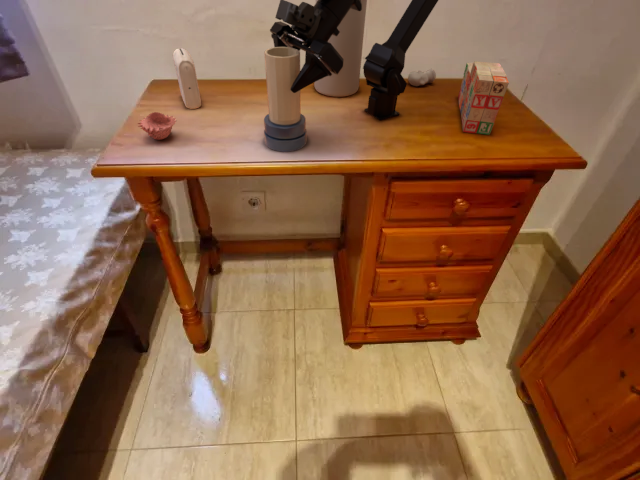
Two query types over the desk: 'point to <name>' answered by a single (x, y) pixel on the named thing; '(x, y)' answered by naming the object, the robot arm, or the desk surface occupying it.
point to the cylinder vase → (346, 55)
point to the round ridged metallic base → (285, 135)
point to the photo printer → (187, 78)
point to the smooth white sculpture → (421, 77)
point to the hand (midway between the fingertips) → (280, 83)
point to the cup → (282, 84)
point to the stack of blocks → (481, 96)
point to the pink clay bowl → (157, 125)
